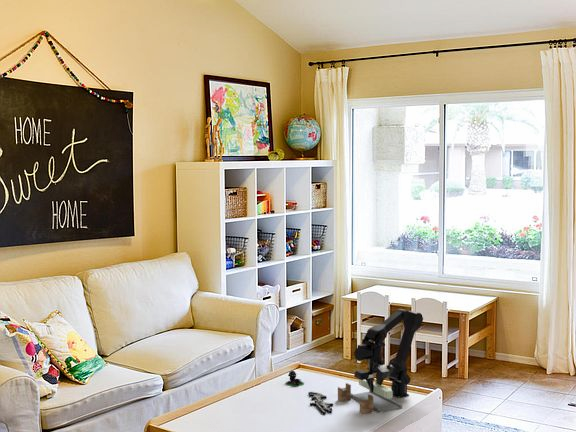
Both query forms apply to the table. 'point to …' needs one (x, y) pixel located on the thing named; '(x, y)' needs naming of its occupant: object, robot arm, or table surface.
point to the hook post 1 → (344, 393)
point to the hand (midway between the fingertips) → (375, 391)
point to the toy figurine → (294, 380)
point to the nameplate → (320, 402)
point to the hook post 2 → (366, 405)
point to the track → (378, 401)
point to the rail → (378, 389)
